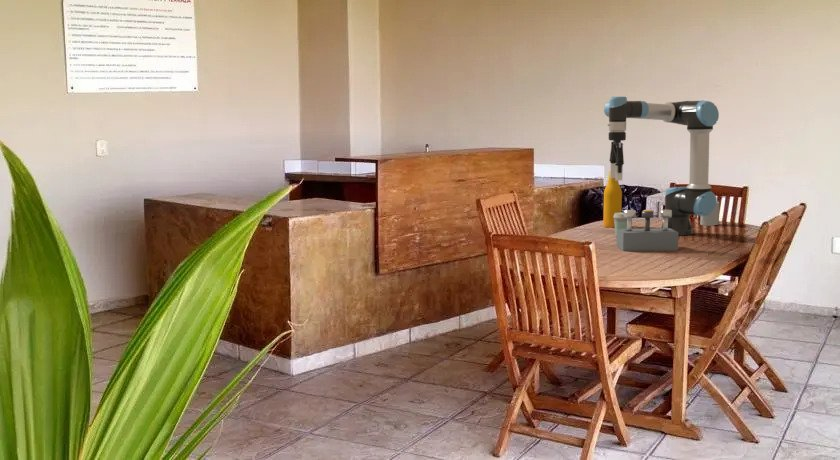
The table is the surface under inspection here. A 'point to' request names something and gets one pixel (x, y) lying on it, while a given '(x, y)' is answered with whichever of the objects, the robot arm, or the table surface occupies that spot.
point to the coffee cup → (620, 221)
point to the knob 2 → (665, 218)
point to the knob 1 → (629, 218)
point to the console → (647, 240)
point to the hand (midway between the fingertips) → (616, 179)
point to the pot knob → (647, 218)
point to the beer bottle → (611, 201)
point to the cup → (711, 217)
